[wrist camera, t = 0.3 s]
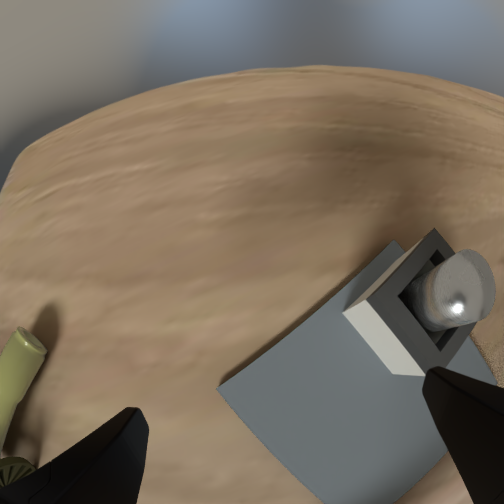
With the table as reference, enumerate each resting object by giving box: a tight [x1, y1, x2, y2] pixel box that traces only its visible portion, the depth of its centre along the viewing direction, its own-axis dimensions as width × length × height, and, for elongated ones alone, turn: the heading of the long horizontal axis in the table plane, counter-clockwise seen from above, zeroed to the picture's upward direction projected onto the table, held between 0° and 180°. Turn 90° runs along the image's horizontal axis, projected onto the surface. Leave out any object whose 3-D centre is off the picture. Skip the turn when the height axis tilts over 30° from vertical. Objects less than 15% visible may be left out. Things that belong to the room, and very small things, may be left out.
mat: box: [216, 240, 497, 504], centre depth 19 cm, size 20×20×1 cm
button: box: [400, 249, 496, 333], centre depth 14 cm, size 4×4×6 cm
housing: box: [343, 228, 477, 376], centre depth 18 cm, size 7×7×7 cm
